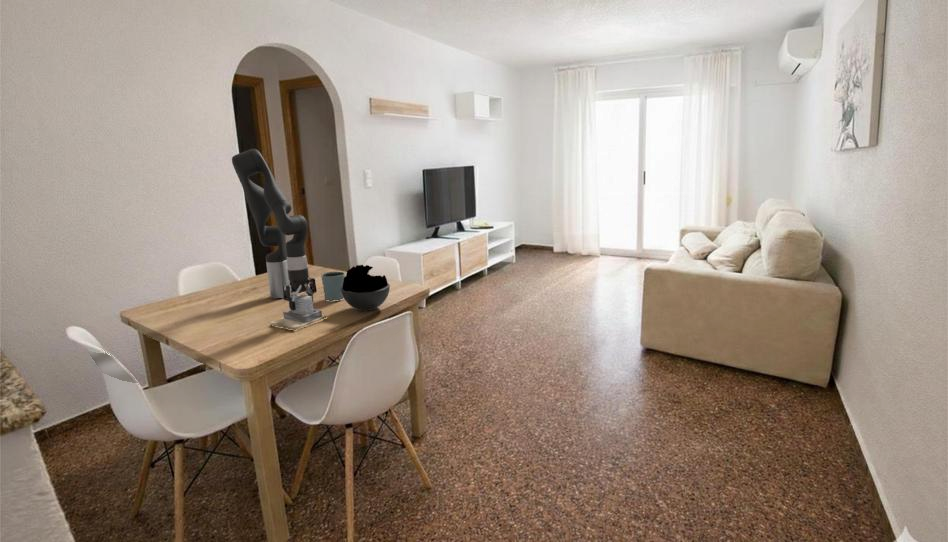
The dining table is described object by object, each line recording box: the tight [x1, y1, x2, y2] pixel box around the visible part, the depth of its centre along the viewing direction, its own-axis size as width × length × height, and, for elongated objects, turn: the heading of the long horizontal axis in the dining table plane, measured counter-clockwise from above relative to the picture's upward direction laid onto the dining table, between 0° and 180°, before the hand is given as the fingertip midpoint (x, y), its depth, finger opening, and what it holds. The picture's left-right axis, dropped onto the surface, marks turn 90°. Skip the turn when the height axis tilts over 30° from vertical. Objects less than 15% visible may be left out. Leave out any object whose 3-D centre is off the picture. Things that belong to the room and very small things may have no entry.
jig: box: [269, 308, 328, 330], centre depth 194 cm, size 16×14×4 cm
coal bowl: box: [341, 264, 391, 311], centre depth 208 cm, size 20×20×19 cm
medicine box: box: [290, 294, 314, 315], centre depth 195 cm, size 8×4×9 cm, turn 68°
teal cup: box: [321, 271, 346, 301], centre depth 224 cm, size 10×10×12 cm
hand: (301, 307), depth 195 cm, fingers open, 8 cm apart
